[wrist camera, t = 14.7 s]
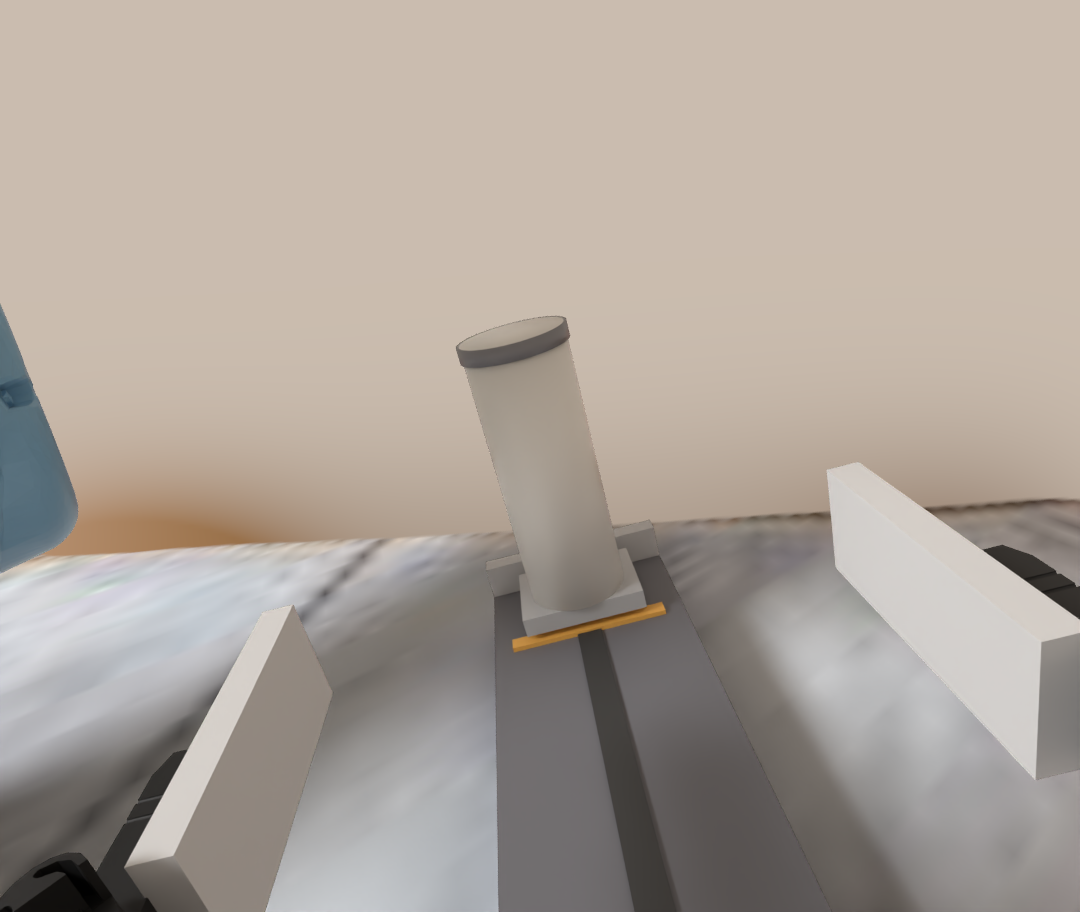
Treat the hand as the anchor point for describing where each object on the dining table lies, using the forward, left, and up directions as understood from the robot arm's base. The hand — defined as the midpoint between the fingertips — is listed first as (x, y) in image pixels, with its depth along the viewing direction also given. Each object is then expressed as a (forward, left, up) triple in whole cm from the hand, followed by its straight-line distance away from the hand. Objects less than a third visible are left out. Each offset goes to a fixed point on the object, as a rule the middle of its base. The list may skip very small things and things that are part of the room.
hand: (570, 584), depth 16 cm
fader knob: (-8, +8, -8) cm, 13 cm away
